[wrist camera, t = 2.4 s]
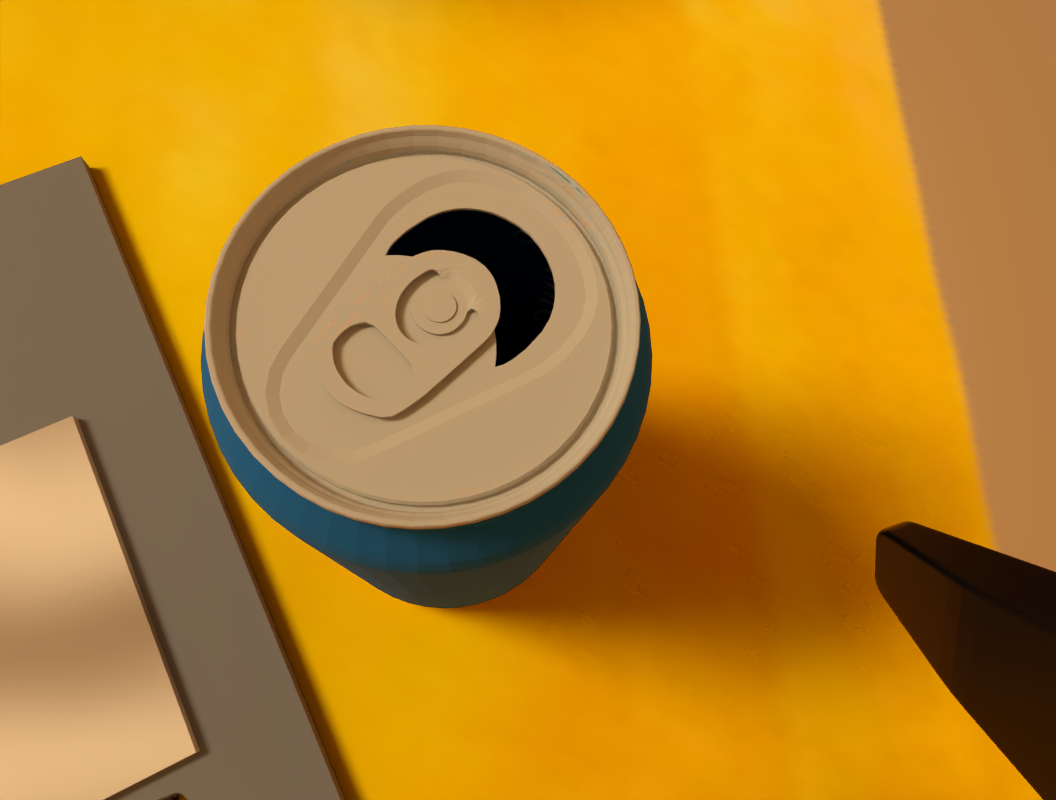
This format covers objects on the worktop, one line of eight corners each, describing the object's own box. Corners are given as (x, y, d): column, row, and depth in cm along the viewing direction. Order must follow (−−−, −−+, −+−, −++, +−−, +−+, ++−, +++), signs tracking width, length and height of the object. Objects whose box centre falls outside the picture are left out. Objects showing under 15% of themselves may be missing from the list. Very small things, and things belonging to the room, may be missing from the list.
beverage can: (617, 491, 22) (773, 325, 11) (440, 664, 21) (404, 685, 9) (456, 327, 23) (444, 19, 12) (277, 480, 22) (61, 293, 10)
